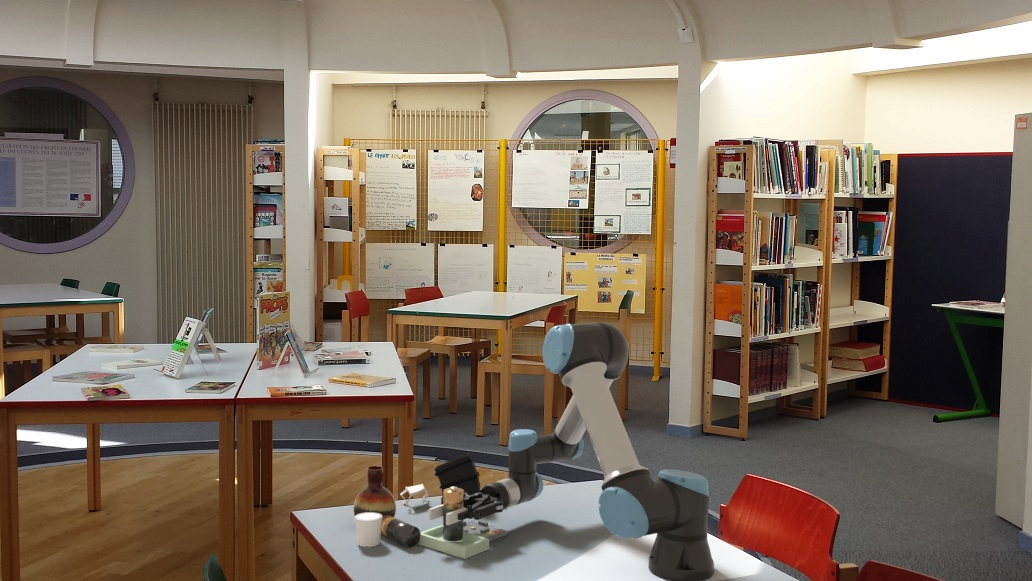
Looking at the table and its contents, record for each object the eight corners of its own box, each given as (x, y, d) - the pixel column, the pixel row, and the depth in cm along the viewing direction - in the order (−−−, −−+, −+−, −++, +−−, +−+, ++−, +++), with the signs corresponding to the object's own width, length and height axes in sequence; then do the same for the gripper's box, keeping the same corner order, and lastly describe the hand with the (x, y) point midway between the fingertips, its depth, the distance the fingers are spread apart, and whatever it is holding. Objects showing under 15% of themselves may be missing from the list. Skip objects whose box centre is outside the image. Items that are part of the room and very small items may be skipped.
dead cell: (420, 544, 232) (420, 525, 231) (404, 549, 228) (404, 529, 228) (391, 531, 241) (391, 512, 241) (375, 535, 238) (375, 516, 237)
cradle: (506, 534, 240) (506, 527, 240) (483, 543, 233) (483, 536, 233) (471, 524, 248) (471, 517, 248) (448, 532, 241) (448, 526, 241)
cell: (467, 538, 230) (467, 487, 229) (451, 542, 227) (451, 491, 226) (454, 533, 234) (455, 483, 233) (438, 537, 231) (439, 486, 230)
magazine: (490, 503, 261) (468, 454, 261) (449, 520, 263) (427, 472, 263) (492, 499, 265) (471, 451, 265) (451, 516, 267) (430, 469, 267)
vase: (358, 517, 252) (358, 461, 251) (398, 519, 251) (399, 462, 250) (349, 531, 241) (349, 472, 240) (391, 532, 240) (392, 473, 239)
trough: (489, 549, 229) (489, 538, 229) (464, 558, 222) (465, 548, 222) (441, 534, 239) (441, 524, 239) (416, 543, 232) (417, 533, 232)
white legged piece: (400, 499, 269) (400, 482, 269) (429, 499, 269) (429, 483, 269) (396, 512, 257) (396, 495, 257) (426, 512, 257) (426, 495, 257)
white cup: (366, 550, 227) (366, 522, 227) (348, 543, 232) (349, 515, 231) (388, 543, 232) (388, 516, 232) (370, 536, 237) (370, 509, 236)
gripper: (525, 517, 239) (466, 540, 221) (473, 503, 250) (411, 524, 232) (526, 488, 238) (466, 509, 220) (473, 475, 249) (412, 494, 231)
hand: (438, 516), depth 226 cm, fingers closed on cell, 5 cm apart
